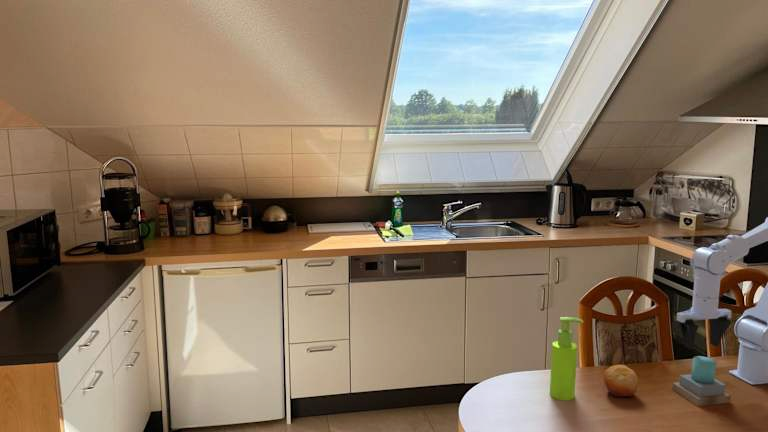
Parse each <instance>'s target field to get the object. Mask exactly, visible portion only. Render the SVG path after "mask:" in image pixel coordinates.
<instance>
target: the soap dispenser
mask: <svg viewBox="0 0 768 432" xmlns="http://www.w3.org/2000/svg"><path fill="white" fill-rule="evenodd" d="M559 322H561V328H560V329H558V331H557V340H555V341H553V342H552V344H551V358H550V359H551V362H550V363H551V364H550V383H549V395H550V396H551V397H552V398H554V399H556V400H559V401H570V400H571V401H572V400H573V399H574V398H575V391H576V390H575V389H576V378H577V375H576V373H577V357H578V345H577V344H576V343H574V342H573V330H571V329H570V323H578V324H583V323H584V320H583V319H581V318H579V317H575V316H572V317H571V316H560V317H559Z"/></svg>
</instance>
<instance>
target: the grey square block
mask: <svg viewBox="0 0 768 432" xmlns="http://www.w3.org/2000/svg"><path fill="white" fill-rule="evenodd" d="M691 374H692V373H690V374H680V375H679V381H678V382H679V385H681V386H682V387H684V388H686V389H687V390H689V391H691V392H692V393H694V394H695V395H697V396H699V397H706V396H714V395H723V394H725V392H726V384H725V383H723V382H721V381H719V380H718V379H716V378H714V383H711V384H706V383H701V382H697V381H695V380H693V379H692V378H691Z"/></svg>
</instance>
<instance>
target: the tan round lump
mask: <svg viewBox="0 0 768 432" xmlns="http://www.w3.org/2000/svg"><path fill="white" fill-rule="evenodd" d="M603 383H604V385H605V387H606V389H607V390H608V391H609V392H610V394H611V395H612V396H614V397H620V398H621V397H631V396H633V395H634V394H636V392H637V390H638V387H639V377H638V376H637V373H636V372H635V370H633V369H631V368H630V367H629V366H627V365H625V364H614V365H612V366H609V367H608V368H607V369H606V370H605V371H604V373H603Z"/></svg>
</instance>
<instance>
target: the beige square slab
mask: <svg viewBox="0 0 768 432" xmlns="http://www.w3.org/2000/svg"><path fill="white" fill-rule="evenodd" d="M679 382H680V381H676V382H673V383H672V389H671V390H673V391H674V392H675V393H678V394H679V395H680V396H682V397H683V398H685V399H686V400H687V401H689V402H691V403H692V404H694V405H696V406H697V407H701V406H703V407H704V406H710V405H721V404H727V403H731V397H732V395H730V394H729V393H728V392H726V391H725V394H723V395H714V396H706V397H699V396H697V395H695V394H694V393H692V392H691V391H689V390H687V389H686V388H684V387H682V386H681V385H679Z"/></svg>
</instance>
